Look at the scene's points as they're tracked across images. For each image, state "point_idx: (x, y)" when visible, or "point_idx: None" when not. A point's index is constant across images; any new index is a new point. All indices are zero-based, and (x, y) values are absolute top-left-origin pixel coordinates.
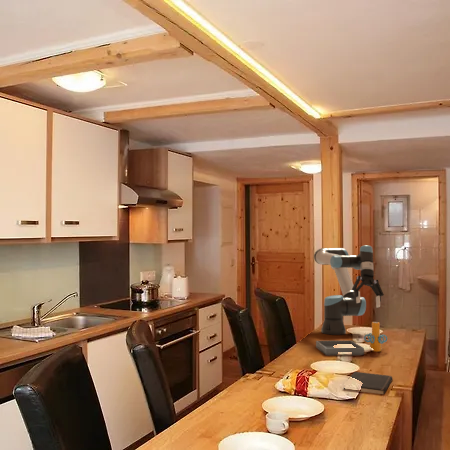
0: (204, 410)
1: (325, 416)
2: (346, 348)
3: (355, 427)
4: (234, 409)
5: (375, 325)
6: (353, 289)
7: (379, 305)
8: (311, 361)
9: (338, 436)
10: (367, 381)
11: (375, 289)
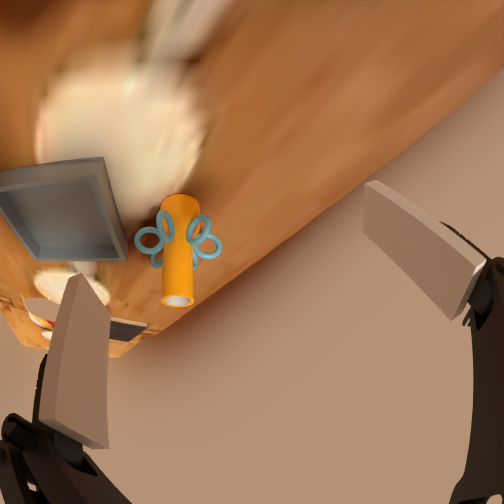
0: (18, 334)
1: None
2: (80, 260)
3: None
4: (32, 336)
5: (172, 297)
6: (20, 455)
7: (371, 236)
8: (29, 274)
9: None
10: (116, 333)
11: (474, 414)
